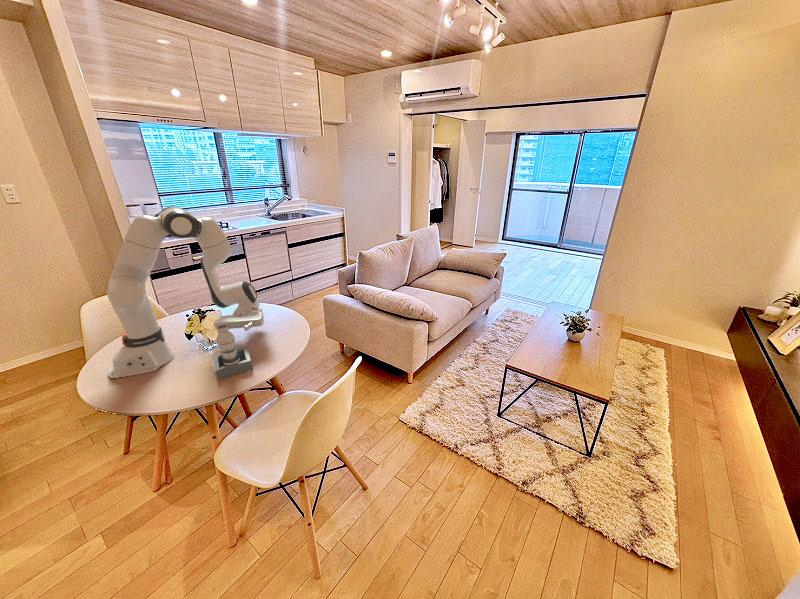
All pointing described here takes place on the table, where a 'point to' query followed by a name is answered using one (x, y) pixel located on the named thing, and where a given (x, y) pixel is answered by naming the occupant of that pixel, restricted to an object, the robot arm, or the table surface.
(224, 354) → the plastic bottle
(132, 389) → the table surface
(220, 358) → the collar socket
